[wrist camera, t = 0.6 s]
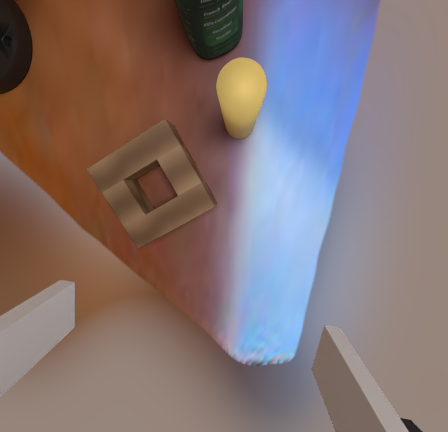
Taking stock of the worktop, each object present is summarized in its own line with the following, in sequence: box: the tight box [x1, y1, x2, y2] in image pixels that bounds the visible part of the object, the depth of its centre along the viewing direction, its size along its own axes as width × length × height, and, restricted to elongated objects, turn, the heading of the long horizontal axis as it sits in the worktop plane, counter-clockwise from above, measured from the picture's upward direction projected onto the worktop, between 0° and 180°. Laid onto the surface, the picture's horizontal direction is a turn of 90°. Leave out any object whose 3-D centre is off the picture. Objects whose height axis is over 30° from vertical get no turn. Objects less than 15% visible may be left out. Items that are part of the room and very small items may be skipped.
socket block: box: [87, 119, 217, 249], centre depth 33 cm, size 14×14×4 cm
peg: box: [216, 58, 267, 139], centre depth 25 cm, size 4×4×14 cm
